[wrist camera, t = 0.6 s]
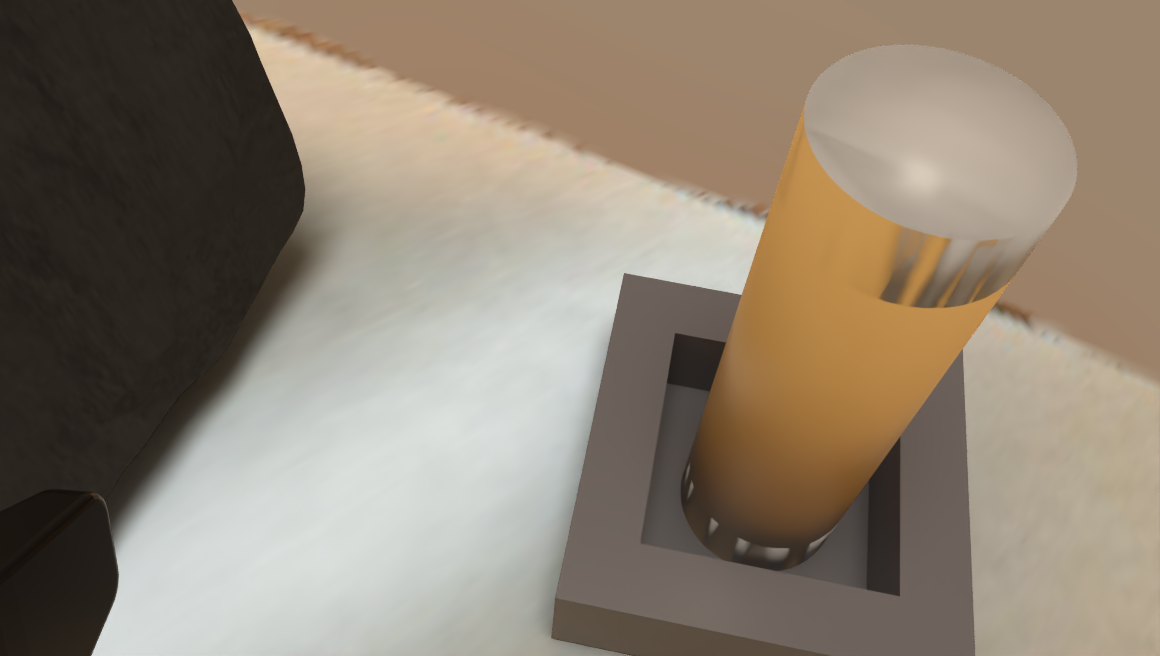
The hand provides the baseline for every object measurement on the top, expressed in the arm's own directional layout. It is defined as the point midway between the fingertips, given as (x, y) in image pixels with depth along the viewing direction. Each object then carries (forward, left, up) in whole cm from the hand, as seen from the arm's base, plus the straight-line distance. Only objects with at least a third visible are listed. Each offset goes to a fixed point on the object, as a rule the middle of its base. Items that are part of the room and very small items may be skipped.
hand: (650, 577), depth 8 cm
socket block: (+6, -6, -16) cm, 18 cm away
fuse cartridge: (+6, -6, -15) cm, 18 cm away
